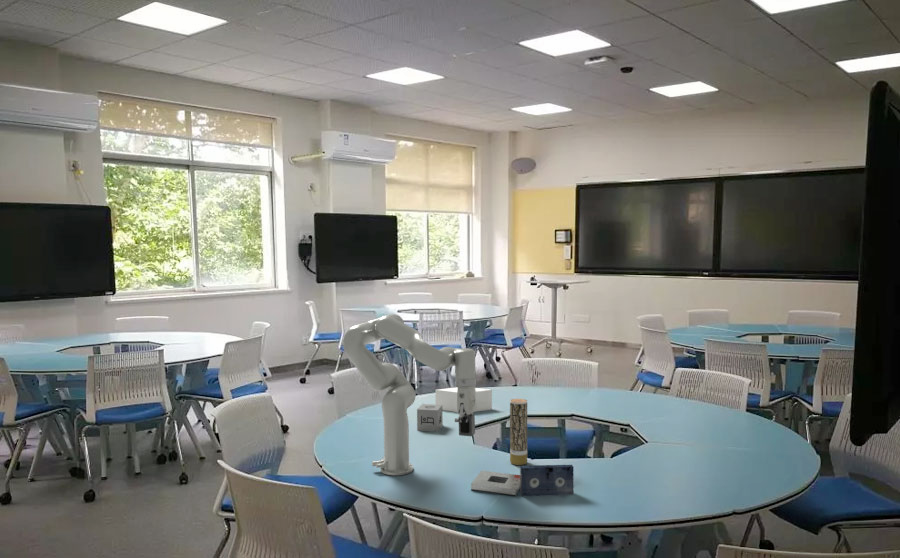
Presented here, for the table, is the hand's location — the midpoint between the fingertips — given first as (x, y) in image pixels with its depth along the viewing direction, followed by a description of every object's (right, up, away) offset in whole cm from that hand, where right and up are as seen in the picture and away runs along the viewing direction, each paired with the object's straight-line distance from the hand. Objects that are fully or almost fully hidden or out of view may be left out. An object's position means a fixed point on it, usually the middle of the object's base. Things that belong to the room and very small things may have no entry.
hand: (466, 430), depth 222 cm
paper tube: (+21, -17, +15) cm, 31 cm away
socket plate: (+11, -18, -8) cm, 23 cm away
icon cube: (-16, -15, +63) cm, 67 cm away
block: (+1, -13, +96) cm, 97 cm away
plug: (0, -1, 0) cm, 1 cm away
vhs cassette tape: (+27, -19, -15) cm, 36 cm away
